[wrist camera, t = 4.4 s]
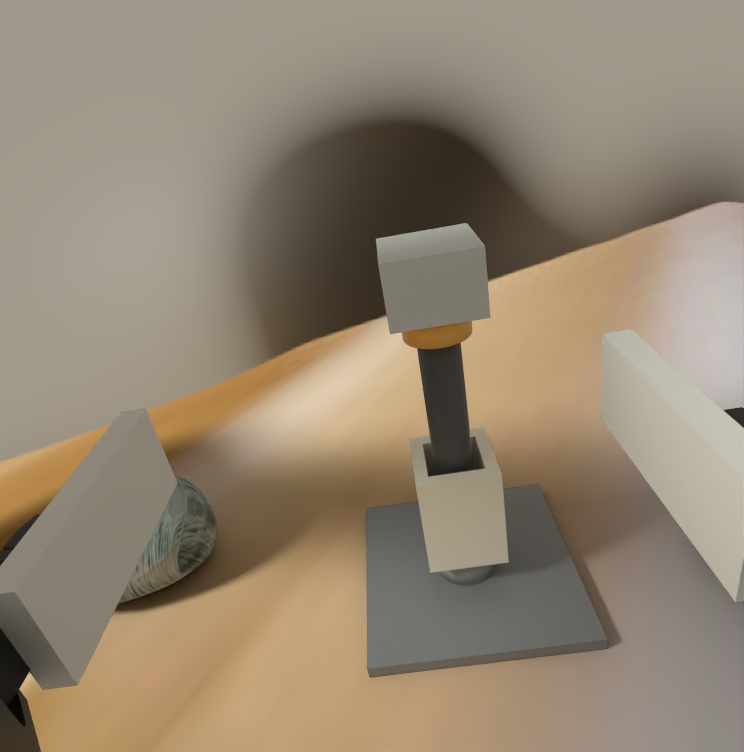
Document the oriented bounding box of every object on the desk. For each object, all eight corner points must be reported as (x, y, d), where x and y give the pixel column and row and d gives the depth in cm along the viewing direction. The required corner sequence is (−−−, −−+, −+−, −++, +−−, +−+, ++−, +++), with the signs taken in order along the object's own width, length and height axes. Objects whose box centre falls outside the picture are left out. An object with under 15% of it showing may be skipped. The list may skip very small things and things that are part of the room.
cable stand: (607, 648, 32) (625, 254, 21) (369, 677, 33) (270, 314, 22) (538, 491, 44) (527, 194, 33) (367, 515, 45) (304, 234, 34)
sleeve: (508, 562, 35) (502, 474, 31) (430, 572, 35) (415, 487, 32) (492, 508, 39) (484, 427, 36) (422, 518, 39) (409, 438, 36)
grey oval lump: (233, 476, 47) (158, 427, 40) (241, 586, 42) (157, 555, 34) (102, 527, 50) (6, 491, 42) (93, 639, 44) (-19, 621, 36)
